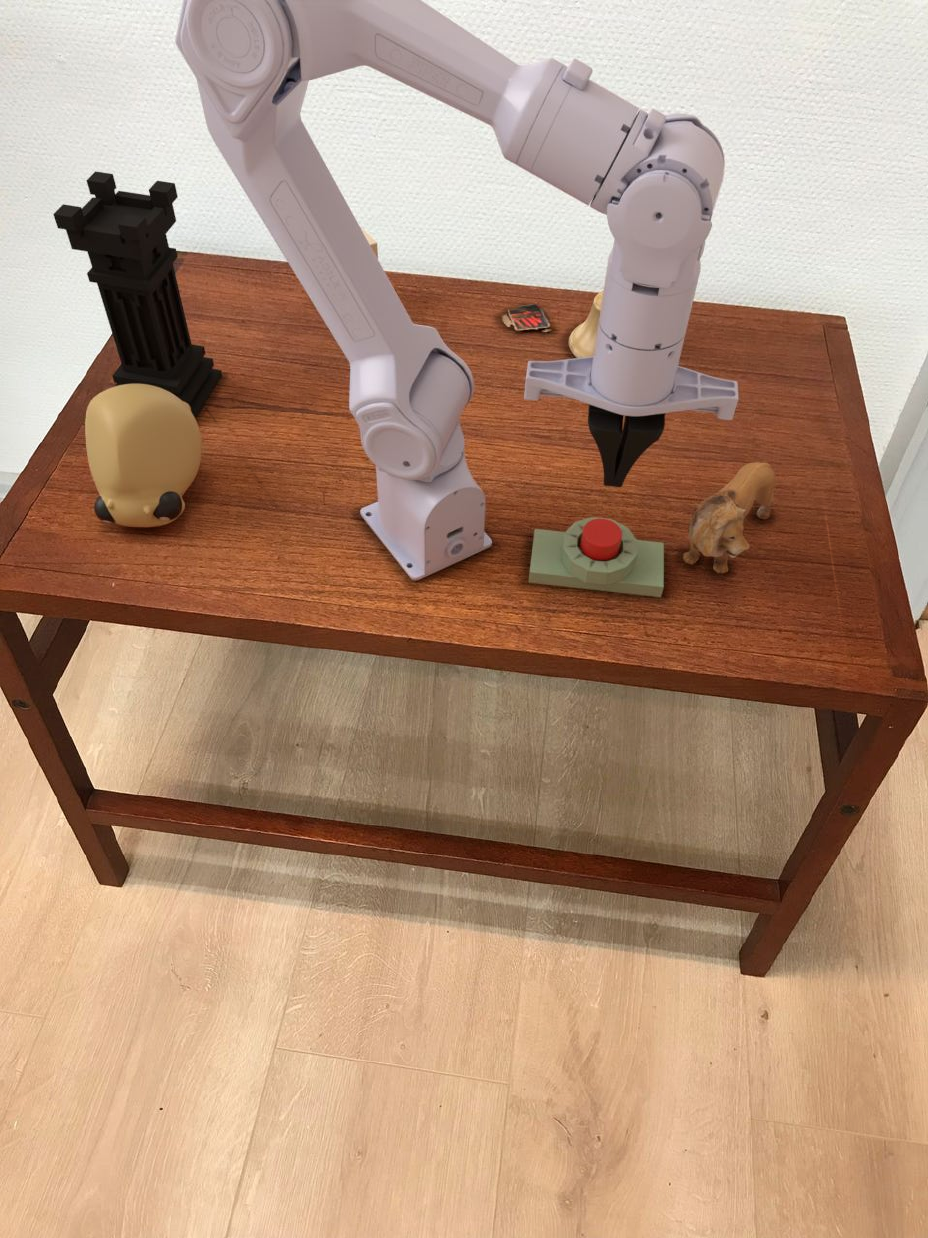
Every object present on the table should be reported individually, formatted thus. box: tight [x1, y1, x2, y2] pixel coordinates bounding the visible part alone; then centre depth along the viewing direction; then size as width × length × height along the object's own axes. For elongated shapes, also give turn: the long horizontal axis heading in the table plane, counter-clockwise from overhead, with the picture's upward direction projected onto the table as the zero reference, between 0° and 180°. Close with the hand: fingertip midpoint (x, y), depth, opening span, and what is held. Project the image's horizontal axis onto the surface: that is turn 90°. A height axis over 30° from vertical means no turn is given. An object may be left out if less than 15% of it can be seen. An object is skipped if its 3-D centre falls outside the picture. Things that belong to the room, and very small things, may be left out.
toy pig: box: [84, 384, 203, 528], centre depth 83 cm, size 10×12×11 cm
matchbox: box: [501, 303, 553, 333], centre depth 104 cm, size 5×5×1 cm
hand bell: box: [568, 290, 604, 358], centre depth 96 cm, size 8×8×16 cm
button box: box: [527, 516, 665, 598], centre depth 81 cm, size 11×6×3 cm, turn 83°
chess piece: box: [52, 170, 223, 420], centre depth 88 cm, size 8×8×20 cm
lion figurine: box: [682, 461, 776, 574], centre depth 81 cm, size 15×5×9 cm, turn 151°
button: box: [580, 518, 622, 561], centre depth 80 cm, size 3×3×2 cm
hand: (613, 477), depth 74 cm, fingers closed
